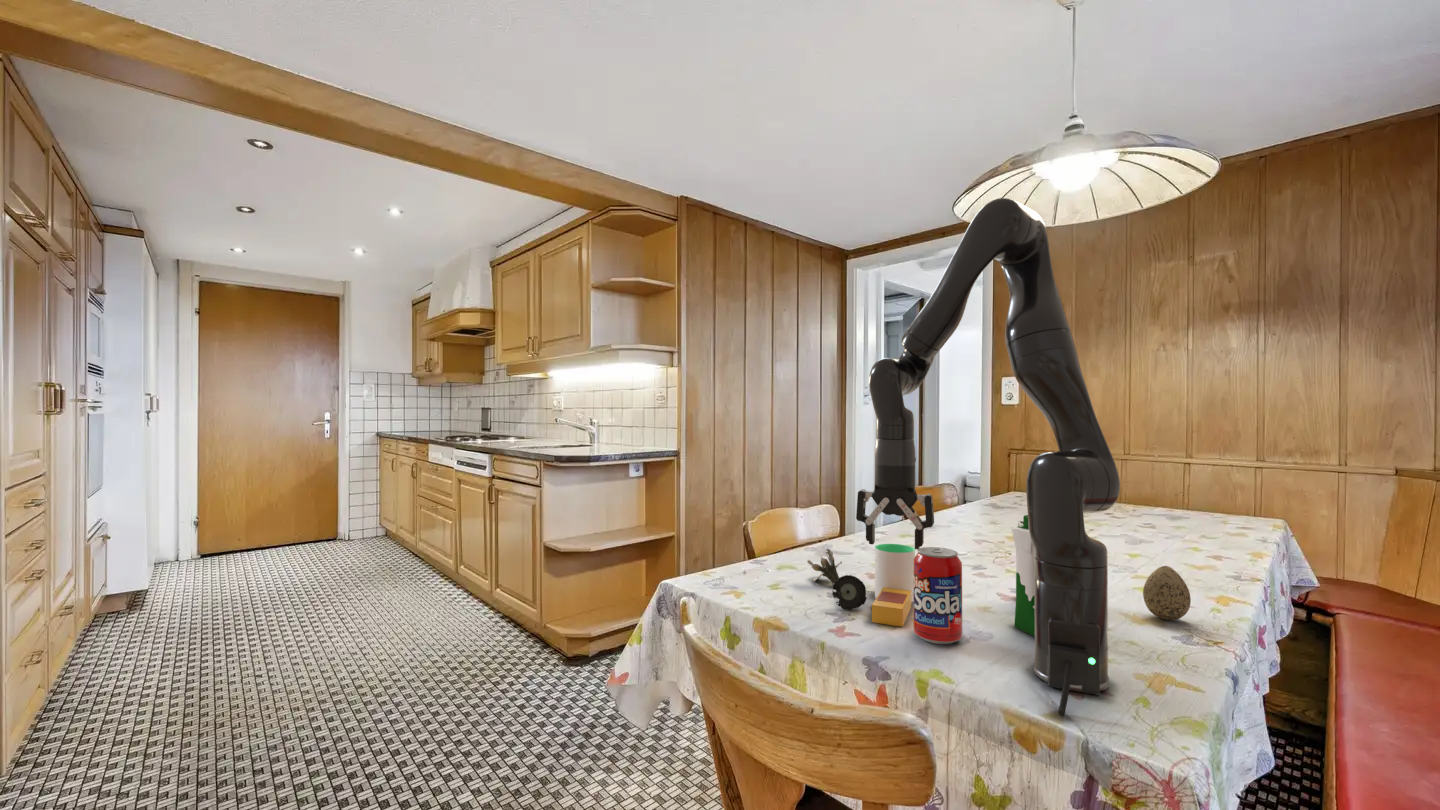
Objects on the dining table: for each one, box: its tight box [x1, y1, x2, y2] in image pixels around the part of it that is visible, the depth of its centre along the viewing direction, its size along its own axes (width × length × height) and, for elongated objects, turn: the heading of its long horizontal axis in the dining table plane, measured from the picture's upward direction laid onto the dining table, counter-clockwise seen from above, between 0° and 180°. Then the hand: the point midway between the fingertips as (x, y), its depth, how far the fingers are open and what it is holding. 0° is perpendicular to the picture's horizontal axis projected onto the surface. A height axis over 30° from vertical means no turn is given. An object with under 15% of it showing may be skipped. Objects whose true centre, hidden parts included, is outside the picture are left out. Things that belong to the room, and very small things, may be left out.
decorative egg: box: [1142, 565, 1192, 621], centre depth 111 cm, size 7×7×10 cm
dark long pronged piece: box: [806, 548, 868, 611], centre depth 128 cm, size 9×22×10 cm, turn 179°
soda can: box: [913, 546, 963, 645], centre depth 102 cm, size 8×8×15 cm
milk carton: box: [1011, 514, 1035, 637], centre depth 105 cm, size 9×9×20 cm
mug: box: [874, 543, 916, 604], centre depth 126 cm, size 12×8×10 cm
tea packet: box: [871, 587, 912, 627], centre depth 114 cm, size 12×6×3 cm, turn 155°
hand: (894, 546), depth 115 cm, fingers open, 8 cm apart
